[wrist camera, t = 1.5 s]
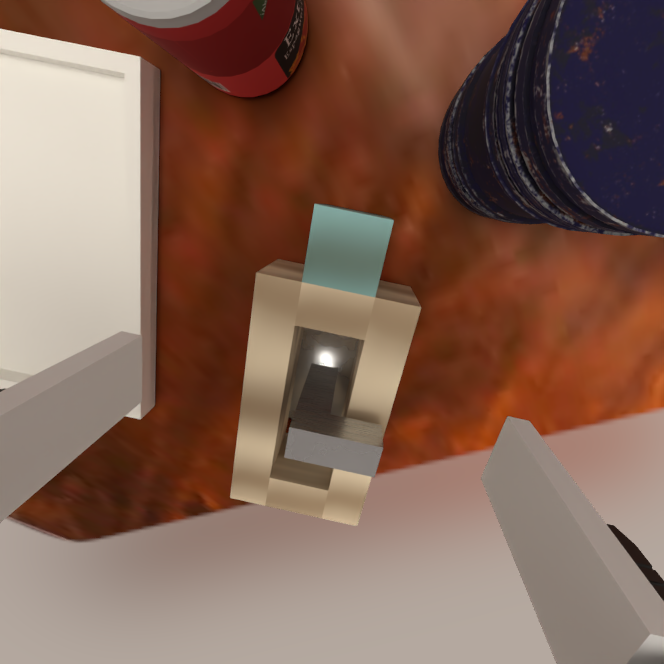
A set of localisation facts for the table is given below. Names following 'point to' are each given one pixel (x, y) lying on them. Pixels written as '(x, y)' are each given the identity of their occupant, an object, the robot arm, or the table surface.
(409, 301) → the beige hollow block
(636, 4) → the dark blue cylinder
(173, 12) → the canned food
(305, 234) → the table surface
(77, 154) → the tray
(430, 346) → the table surface
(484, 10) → the table surface
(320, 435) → the grey piece
